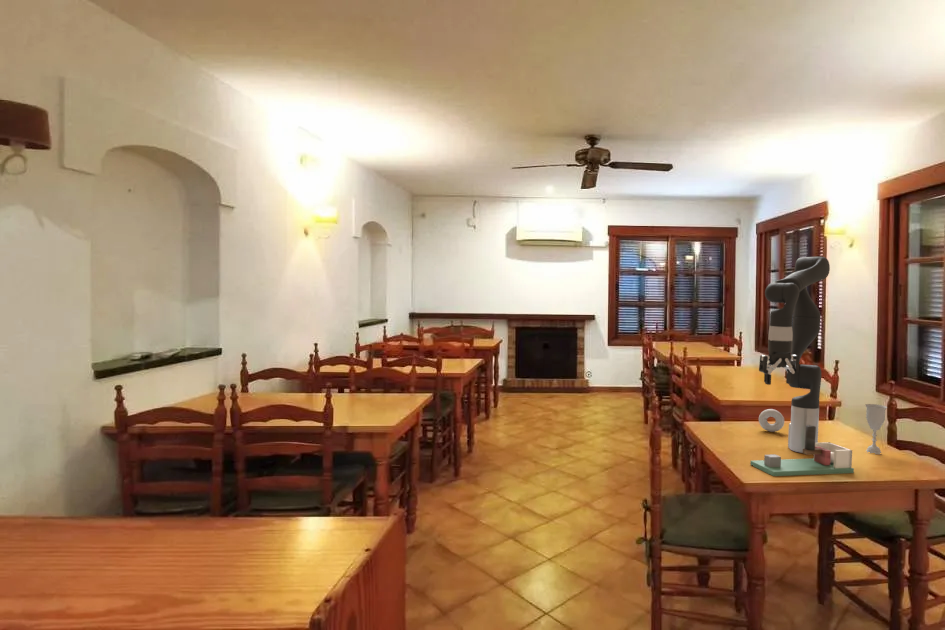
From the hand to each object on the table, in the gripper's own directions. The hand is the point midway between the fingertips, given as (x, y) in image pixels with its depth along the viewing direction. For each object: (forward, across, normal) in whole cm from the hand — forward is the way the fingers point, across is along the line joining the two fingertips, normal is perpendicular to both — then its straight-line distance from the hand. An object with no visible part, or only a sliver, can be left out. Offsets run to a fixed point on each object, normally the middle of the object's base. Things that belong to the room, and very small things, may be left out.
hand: (778, 384), depth 202 cm
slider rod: (+26, -8, +9) cm, 29 cm away
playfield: (+28, -3, +9) cm, 30 cm away
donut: (+28, -28, -39) cm, 56 cm away
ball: (+25, -15, +9) cm, 30 cm away
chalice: (+28, -46, -5) cm, 55 cm away
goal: (+27, -15, +9) cm, 32 cm away
